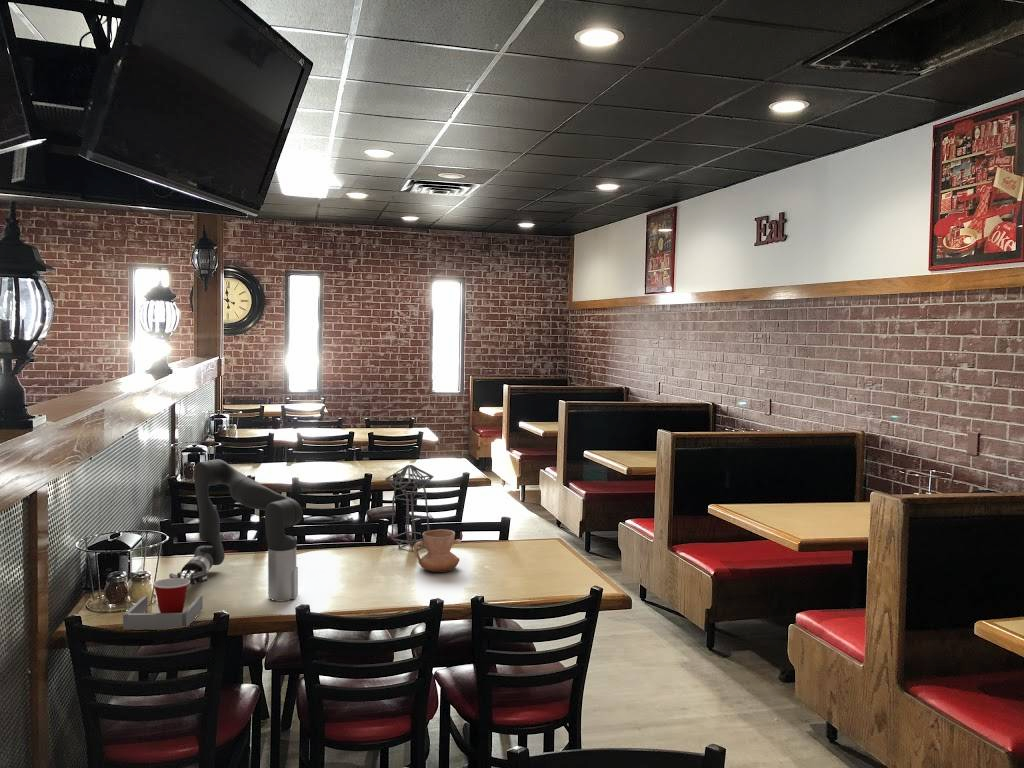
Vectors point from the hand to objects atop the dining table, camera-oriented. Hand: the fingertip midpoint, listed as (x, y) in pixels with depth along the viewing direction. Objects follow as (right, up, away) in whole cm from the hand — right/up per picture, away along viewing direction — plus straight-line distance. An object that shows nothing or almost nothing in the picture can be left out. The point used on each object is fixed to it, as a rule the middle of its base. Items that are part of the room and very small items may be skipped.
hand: (180, 586), depth 262 cm
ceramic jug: (+81, -4, +41) cm, 91 cm away
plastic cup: (+3, -7, -12) cm, 15 cm away
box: (+1, -7, -14) cm, 16 cm away
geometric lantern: (+66, -2, +69) cm, 96 cm away
